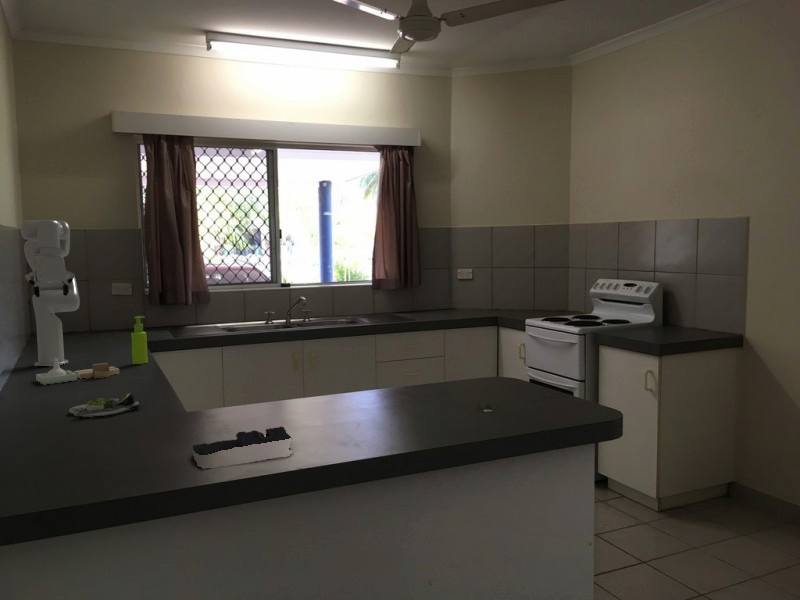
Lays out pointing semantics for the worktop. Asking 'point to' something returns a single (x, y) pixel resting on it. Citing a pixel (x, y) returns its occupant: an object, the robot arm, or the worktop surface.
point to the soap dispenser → (139, 343)
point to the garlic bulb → (56, 370)
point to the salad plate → (105, 406)
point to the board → (89, 372)
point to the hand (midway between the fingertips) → (51, 296)
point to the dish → (56, 378)
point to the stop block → (100, 370)
